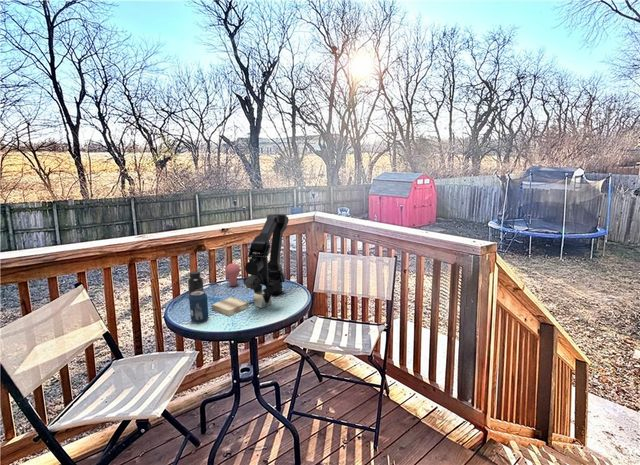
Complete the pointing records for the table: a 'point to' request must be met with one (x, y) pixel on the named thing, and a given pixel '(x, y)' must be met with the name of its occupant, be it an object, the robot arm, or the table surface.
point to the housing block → (261, 299)
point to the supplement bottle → (195, 282)
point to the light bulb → (232, 273)
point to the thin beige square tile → (230, 306)
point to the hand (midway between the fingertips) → (263, 301)
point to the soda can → (198, 306)
